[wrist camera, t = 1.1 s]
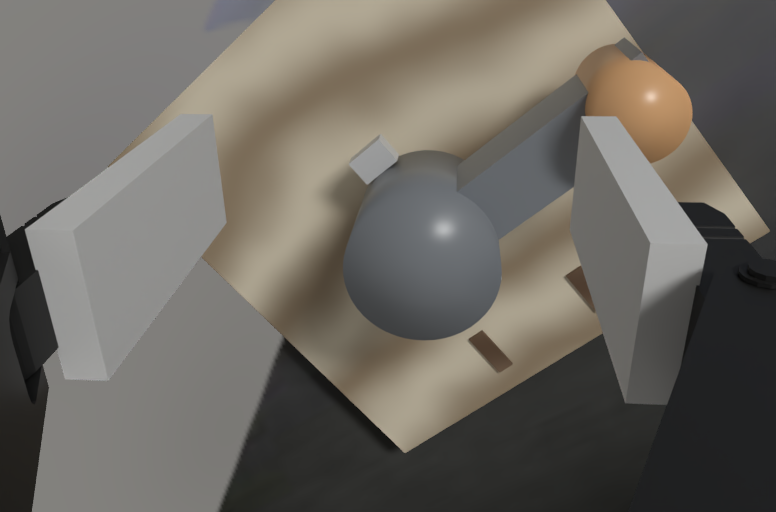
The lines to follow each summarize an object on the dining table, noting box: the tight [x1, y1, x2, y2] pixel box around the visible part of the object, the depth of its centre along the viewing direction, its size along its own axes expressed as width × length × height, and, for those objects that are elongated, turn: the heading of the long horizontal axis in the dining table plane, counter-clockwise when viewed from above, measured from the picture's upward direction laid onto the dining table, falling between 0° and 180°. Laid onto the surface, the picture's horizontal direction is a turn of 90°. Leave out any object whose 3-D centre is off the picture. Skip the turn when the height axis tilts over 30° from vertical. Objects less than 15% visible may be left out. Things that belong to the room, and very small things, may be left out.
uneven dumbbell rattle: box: [343, 37, 692, 341], centre depth 33 cm, size 10×16×7 cm, turn 131°
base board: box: [108, 0, 770, 453], centre depth 39 cm, size 26×26×4 cm
